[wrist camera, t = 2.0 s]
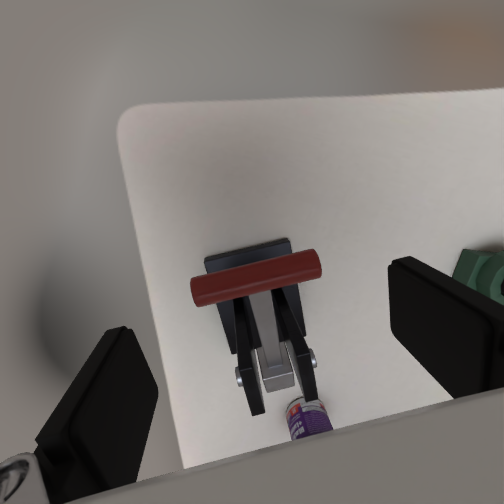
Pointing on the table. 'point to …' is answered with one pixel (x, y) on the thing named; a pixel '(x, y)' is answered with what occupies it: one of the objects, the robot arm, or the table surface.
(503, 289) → the button
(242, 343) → the bracket
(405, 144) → the table surface
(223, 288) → the lever
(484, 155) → the table surface
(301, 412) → the pill bottle
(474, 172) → the table surface
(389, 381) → the table surface
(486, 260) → the button box
